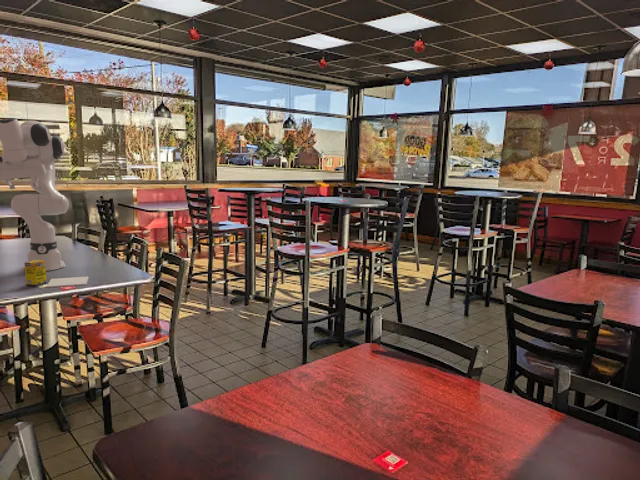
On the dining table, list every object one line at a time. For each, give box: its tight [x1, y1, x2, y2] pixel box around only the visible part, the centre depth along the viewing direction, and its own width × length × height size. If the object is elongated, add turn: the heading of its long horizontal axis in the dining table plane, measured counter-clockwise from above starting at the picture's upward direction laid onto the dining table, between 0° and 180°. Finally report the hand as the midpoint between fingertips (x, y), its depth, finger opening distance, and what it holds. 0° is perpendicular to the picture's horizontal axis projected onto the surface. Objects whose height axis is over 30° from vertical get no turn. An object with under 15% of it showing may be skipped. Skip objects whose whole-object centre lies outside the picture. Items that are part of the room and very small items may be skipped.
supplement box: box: [24, 260, 48, 287], centre depth 215 cm, size 6×6×11 cm
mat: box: [46, 276, 89, 288], centre depth 221 cm, size 14×16×1 cm
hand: (24, 187), depth 209 cm, fingers open, 8 cm apart
